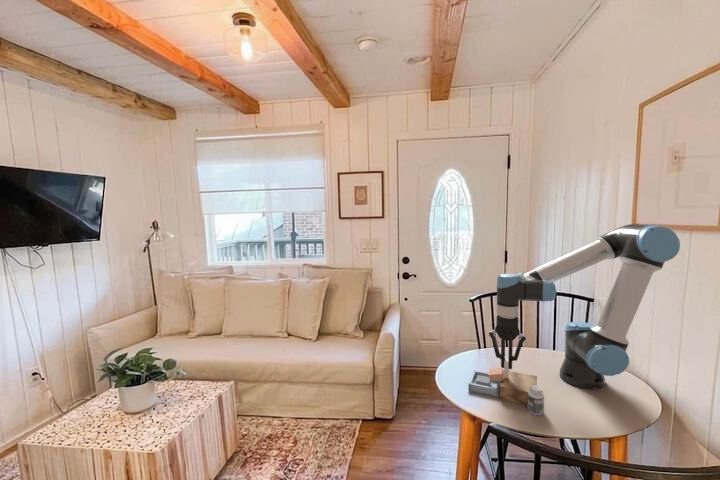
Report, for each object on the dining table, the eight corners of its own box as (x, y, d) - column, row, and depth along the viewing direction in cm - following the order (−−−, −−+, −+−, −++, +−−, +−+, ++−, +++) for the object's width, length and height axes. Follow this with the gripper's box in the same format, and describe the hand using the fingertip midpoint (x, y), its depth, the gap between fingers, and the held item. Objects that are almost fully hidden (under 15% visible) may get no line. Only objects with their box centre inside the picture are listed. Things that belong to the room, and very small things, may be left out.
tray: (501, 382, 133) (501, 375, 133) (498, 397, 122) (498, 389, 122) (473, 377, 138) (473, 370, 138) (468, 391, 127) (468, 383, 127)
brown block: (536, 388, 128) (536, 375, 128) (536, 407, 116) (537, 393, 115) (502, 381, 134) (502, 369, 133) (499, 399, 121) (499, 386, 121)
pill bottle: (525, 407, 116) (525, 384, 115) (539, 407, 116) (540, 384, 115) (531, 415, 111) (531, 391, 111) (545, 415, 111) (546, 391, 110)
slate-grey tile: (477, 374, 134) (477, 380, 134) (475, 380, 129) (475, 386, 129) (490, 377, 131) (490, 383, 132) (489, 383, 127) (489, 389, 127)
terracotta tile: (504, 374, 129) (502, 368, 129) (503, 380, 124) (501, 373, 125) (491, 375, 131) (489, 369, 131) (490, 381, 127) (488, 375, 127)
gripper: (527, 314, 125) (525, 375, 126) (489, 310, 131) (489, 368, 132) (526, 320, 118) (525, 384, 120) (487, 316, 124) (486, 377, 126)
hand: (506, 376), depth 126 cm, fingers closed
